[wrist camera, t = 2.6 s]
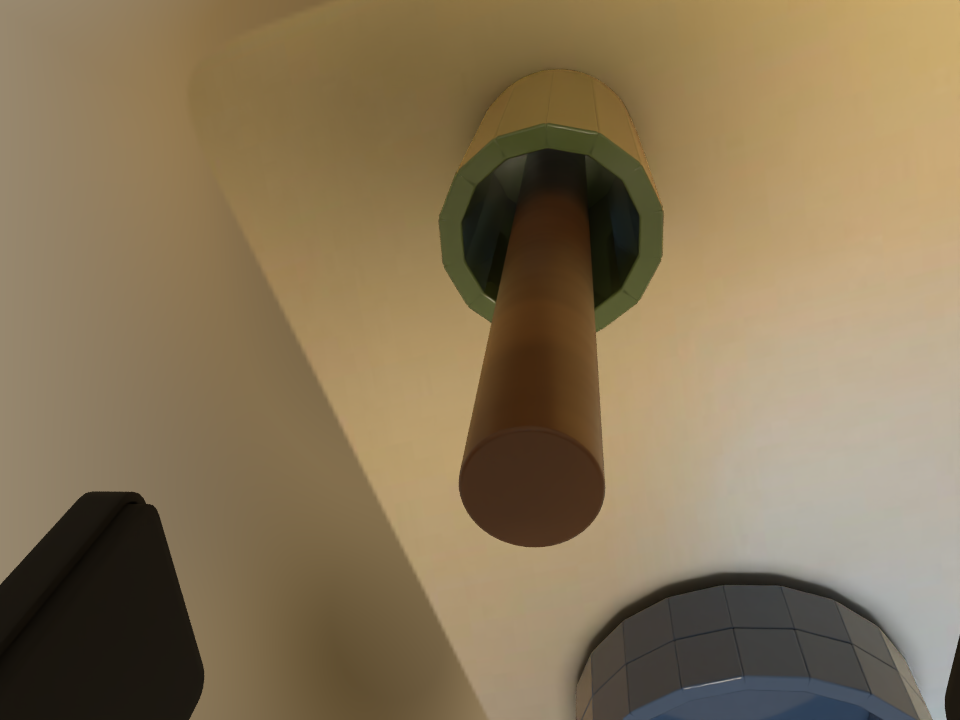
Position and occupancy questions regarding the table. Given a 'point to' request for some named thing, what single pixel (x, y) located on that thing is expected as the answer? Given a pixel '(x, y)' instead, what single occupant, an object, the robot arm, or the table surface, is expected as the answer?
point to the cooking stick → (540, 372)
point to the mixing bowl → (747, 662)
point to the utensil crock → (610, 188)
